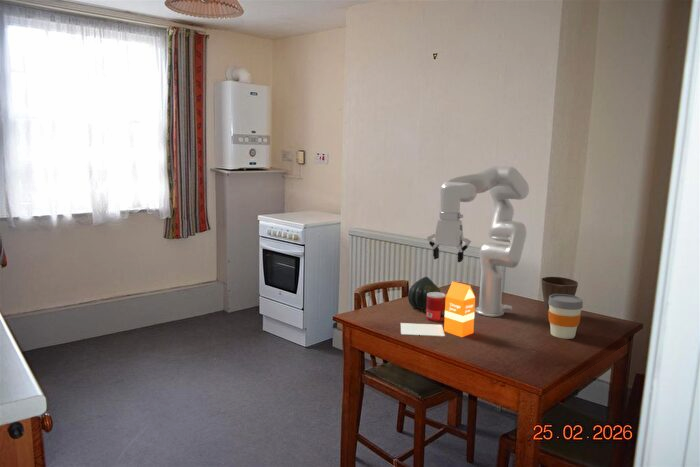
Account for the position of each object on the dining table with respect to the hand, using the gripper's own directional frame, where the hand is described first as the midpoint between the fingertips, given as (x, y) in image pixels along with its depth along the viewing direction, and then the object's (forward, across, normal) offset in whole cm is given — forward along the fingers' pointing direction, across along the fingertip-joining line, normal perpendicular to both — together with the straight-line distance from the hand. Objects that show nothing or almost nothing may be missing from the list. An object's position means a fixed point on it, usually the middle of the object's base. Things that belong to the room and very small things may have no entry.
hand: (447, 260), depth 200 cm
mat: (+29, +9, +3) cm, 31 cm away
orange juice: (+30, -4, -3) cm, 30 cm away
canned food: (+30, +10, -13) cm, 34 cm away
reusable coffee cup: (+30, -40, -24) cm, 55 cm away
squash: (+30, +20, -24) cm, 43 cm away
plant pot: (+31, -33, -47) cm, 65 cm away
